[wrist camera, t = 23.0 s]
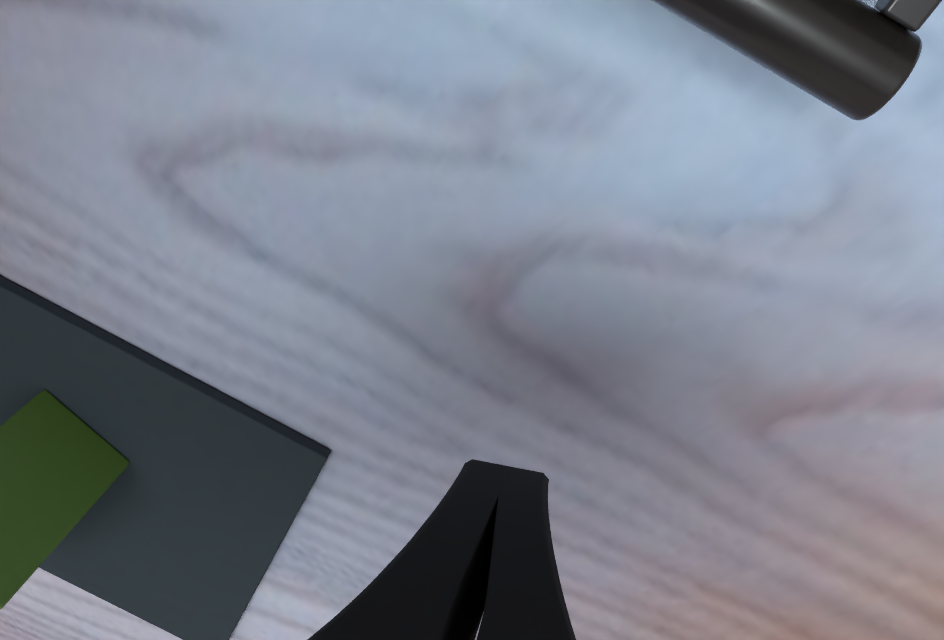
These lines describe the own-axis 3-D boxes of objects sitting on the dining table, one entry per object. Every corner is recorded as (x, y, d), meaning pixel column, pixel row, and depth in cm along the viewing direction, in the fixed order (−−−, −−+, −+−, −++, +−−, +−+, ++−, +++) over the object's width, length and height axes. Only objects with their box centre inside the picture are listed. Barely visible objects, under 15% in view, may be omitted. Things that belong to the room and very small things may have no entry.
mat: (223, 648, 30) (218, 658, 30) (-165, 454, 29) (-174, 461, 29) (331, 450, 24) (326, 458, 23) (-160, 190, 23) (-172, 195, 22)
